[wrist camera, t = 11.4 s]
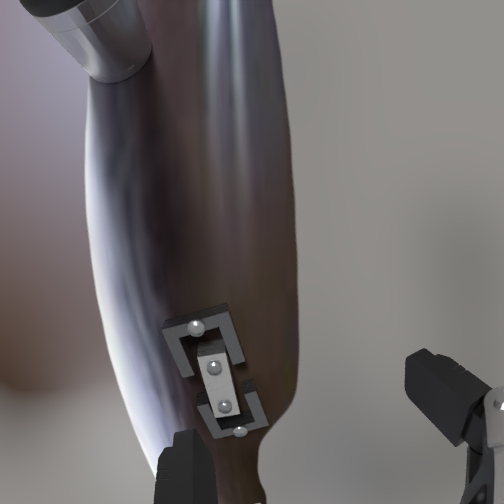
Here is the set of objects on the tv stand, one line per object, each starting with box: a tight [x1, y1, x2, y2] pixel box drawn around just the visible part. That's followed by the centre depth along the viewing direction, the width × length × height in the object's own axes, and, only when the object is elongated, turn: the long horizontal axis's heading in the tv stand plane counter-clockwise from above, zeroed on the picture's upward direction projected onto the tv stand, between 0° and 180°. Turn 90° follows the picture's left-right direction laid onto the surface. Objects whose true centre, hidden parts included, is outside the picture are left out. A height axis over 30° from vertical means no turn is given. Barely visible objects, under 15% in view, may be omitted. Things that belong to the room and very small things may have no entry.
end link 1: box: [162, 303, 245, 378], centre depth 35 cm, size 7×8×4 cm
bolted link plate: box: [197, 339, 240, 418], centre depth 36 cm, size 10×3×4 cm, turn 9°
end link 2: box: [197, 379, 269, 439], centre depth 37 cm, size 7×8×4 cm
